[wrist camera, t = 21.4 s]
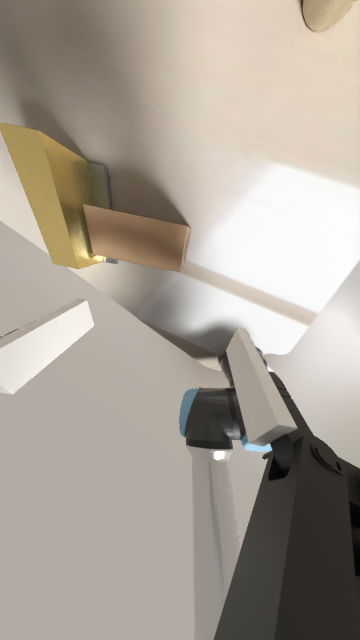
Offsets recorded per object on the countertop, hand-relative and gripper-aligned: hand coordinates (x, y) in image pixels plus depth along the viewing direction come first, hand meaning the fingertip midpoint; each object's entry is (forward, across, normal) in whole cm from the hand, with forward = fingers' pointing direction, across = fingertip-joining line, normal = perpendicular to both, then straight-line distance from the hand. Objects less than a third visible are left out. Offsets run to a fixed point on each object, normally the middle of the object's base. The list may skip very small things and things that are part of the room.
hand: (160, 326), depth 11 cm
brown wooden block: (+23, -7, +6) cm, 25 cm away
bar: (+22, -22, +7) cm, 32 cm away
